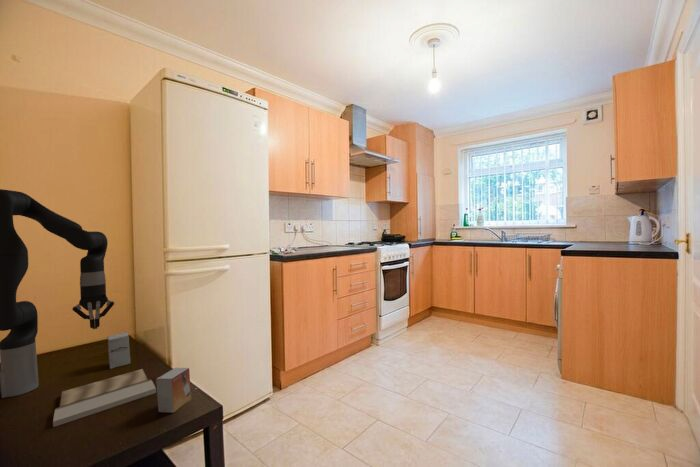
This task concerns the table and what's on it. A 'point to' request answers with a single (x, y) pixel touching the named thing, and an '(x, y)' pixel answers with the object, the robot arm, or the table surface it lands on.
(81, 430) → the table surface
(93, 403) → the grey board
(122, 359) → the supplement box
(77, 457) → the table surface
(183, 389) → the small box
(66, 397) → the oak plank
